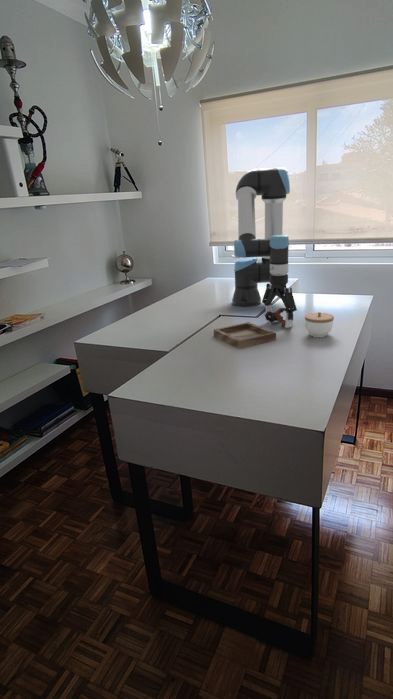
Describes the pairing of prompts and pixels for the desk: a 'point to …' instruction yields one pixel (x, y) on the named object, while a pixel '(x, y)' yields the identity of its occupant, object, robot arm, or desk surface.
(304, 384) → the desk surface
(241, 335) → the walnut tray
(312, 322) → the lidded jar
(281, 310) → the broken clay pot
